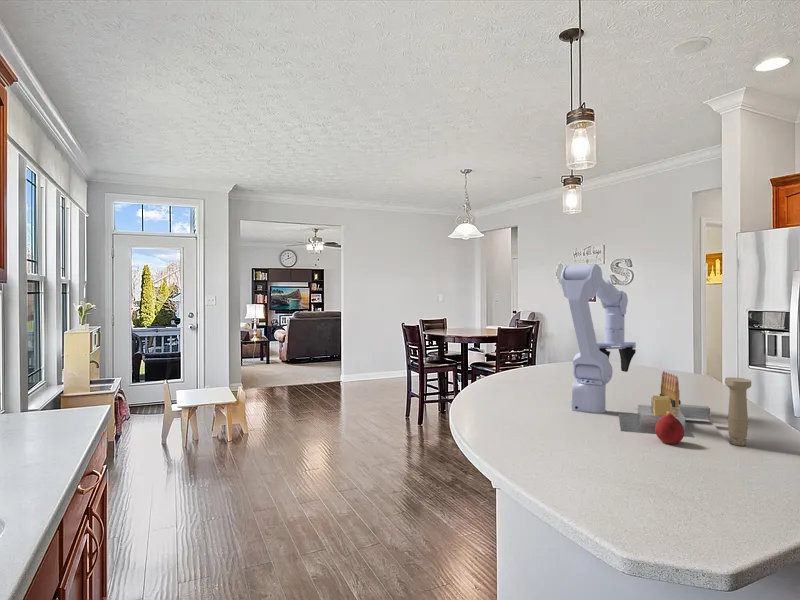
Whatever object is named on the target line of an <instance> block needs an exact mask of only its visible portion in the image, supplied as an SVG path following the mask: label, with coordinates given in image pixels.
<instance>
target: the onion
mask: <svg viewBox="0 0 800 600" xmlns="http://www.w3.org/2000/svg"><path fill="white" fill-rule="evenodd" d="M655 432H656V434H655V435H656V436H657V438H658V439H659V440H660V441H661V442H662V443H663V444H666V445H677V444H679V443H680V442H681V441H682V440H683V438H685V437H684V428H683V426H682V424H681V423H680V421H679V420H678V419H677V418H675V417H674V416H673V415H672V414H671V413H670V412H666V416H664V417H662V418H661V419H660V420H659V421H658V422H657V424H656V426H655Z"/></svg>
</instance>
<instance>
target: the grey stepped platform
mask: <svg viewBox="0 0 800 600" xmlns="http://www.w3.org/2000/svg"><path fill="white" fill-rule="evenodd" d="M650 403H651V405H645V404H644V405H643V404H637V414H634V413H633V414H632V413H631V414H630V413H620V412H619V413H617V414H618V419H619V427H620V432H626V433H636V434H637V433H638V434H639V433H640V434H650V435H656V432H655V426H656V424H657V422H658V421H659V420H660V419H661V418H662V417H664V416H660V415H654V412H653V396H652V397H651V399H650ZM671 414H672V415H673V416H674V417H675V418H677V419H678V420H679V421H680V423H681V424H682V426H683V428H684V437H683V438H686V437H687V438H695V436H694V434H693V433H692V431H691V430H690V429H689V427H688V425H687V424H686V419H694V420H704V421H705V420H707V421H708V420H709V421H711V408H710V407H709V406H708V405H698V404H697V405H694V404H682V403H681V404H679V407H678V408H677V407H671Z"/></svg>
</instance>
